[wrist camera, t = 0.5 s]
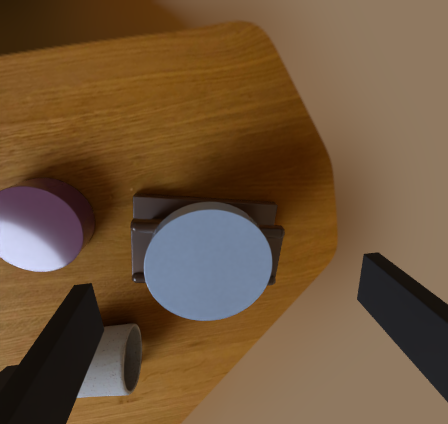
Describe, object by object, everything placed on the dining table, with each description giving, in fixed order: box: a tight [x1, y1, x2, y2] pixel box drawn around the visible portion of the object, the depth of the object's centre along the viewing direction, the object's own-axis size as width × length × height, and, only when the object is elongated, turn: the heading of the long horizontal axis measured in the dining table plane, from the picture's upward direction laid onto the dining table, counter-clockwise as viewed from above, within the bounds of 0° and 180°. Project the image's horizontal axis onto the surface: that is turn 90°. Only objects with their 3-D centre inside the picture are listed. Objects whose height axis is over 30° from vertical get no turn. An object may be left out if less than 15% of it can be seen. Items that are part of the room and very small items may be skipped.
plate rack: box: [131, 194, 285, 285], centre depth 28 cm, size 7×16×8 cm, turn 84°
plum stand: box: [0, 178, 95, 272], centre depth 28 cm, size 9×9×4 cm
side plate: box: [144, 202, 272, 321], centre depth 24 cm, size 11×11×2 cm
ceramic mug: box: [77, 323, 142, 398], centre depth 33 cm, size 11×8×8 cm
